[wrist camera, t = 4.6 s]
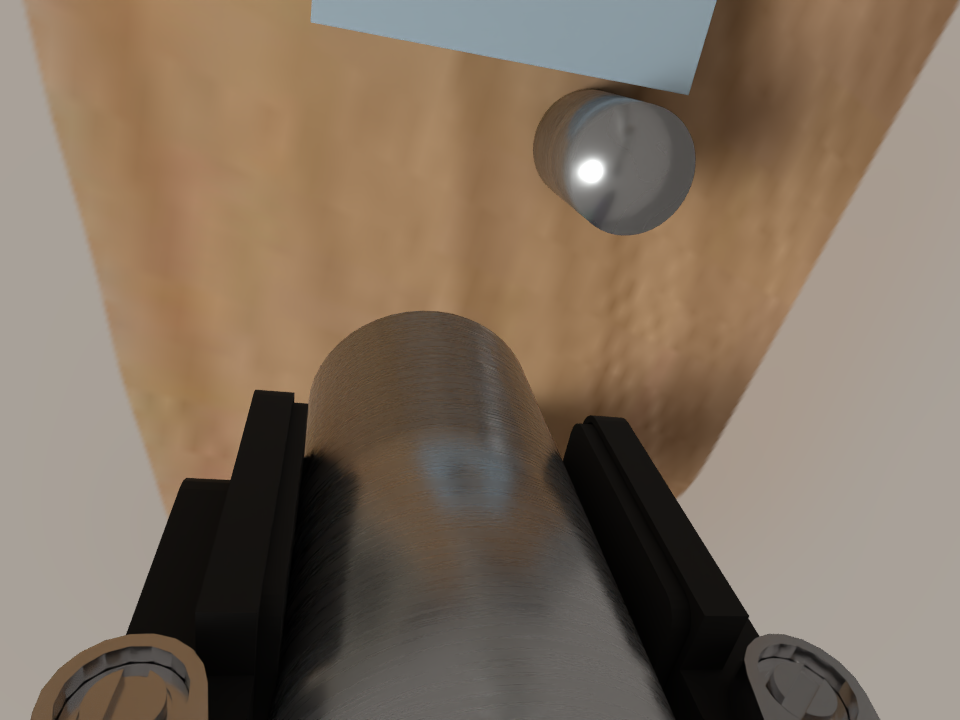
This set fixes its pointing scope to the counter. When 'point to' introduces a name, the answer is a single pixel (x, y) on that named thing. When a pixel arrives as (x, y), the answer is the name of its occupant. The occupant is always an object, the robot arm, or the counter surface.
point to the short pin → (615, 159)
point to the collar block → (548, 33)
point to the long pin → (447, 547)
